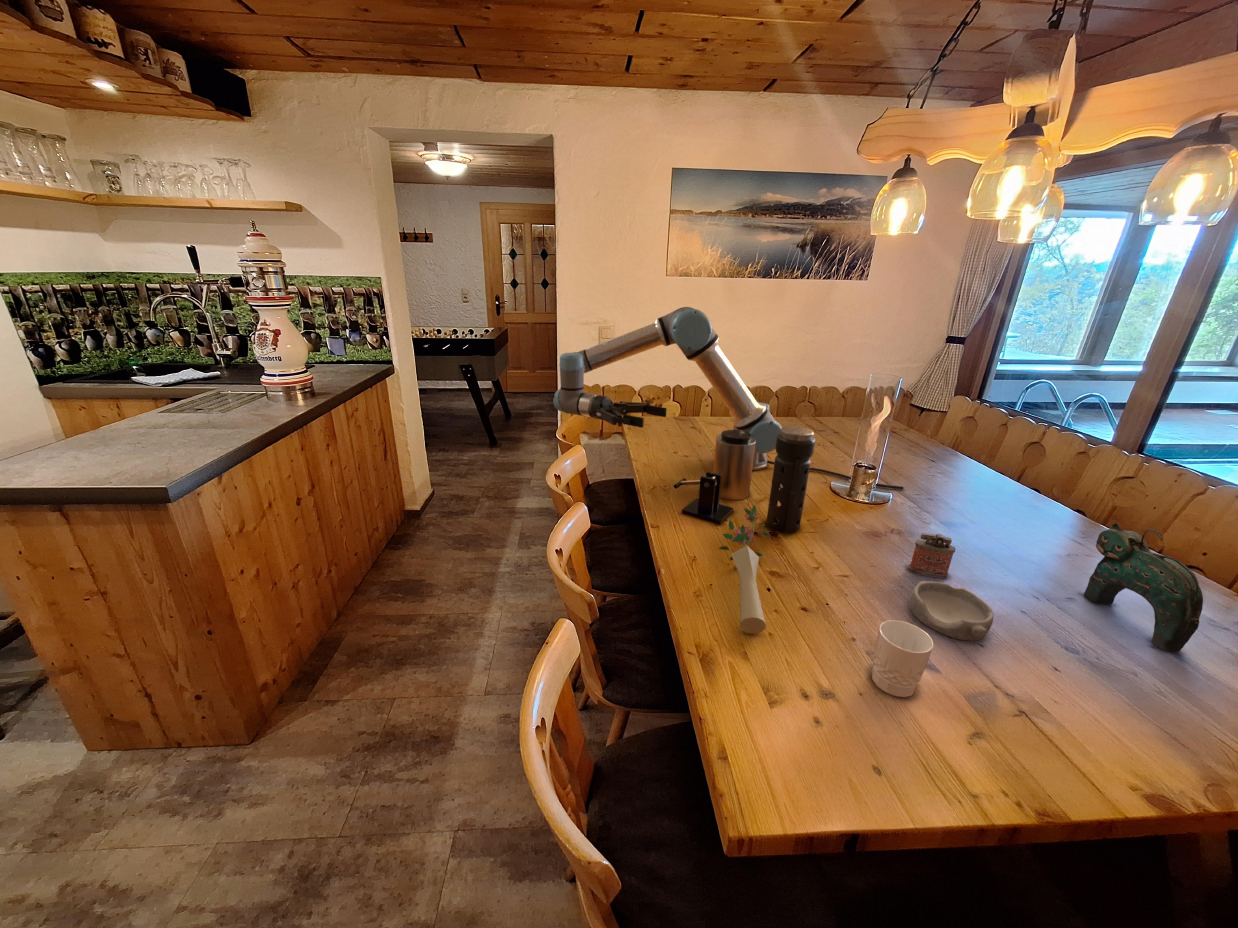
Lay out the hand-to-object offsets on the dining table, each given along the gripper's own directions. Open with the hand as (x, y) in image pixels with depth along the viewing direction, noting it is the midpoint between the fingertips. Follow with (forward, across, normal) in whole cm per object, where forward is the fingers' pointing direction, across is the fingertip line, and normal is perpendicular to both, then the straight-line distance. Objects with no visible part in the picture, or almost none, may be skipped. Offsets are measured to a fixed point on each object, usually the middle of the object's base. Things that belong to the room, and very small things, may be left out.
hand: (654, 417), depth 144 cm
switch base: (+19, 0, -26) cm, 32 cm away
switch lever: (+15, 0, -18) cm, 24 cm away
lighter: (+75, -1, -26) cm, 79 cm away
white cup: (+72, +41, -26) cm, 87 cm away
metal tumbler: (+19, -18, -26) cm, 37 cm away
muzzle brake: (+40, -4, -26) cm, 48 cm away
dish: (+79, +16, -26) cm, 85 cm away
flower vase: (+41, +28, -26) cm, 56 cm away
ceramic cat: (+110, -5, -26) cm, 114 cm away
